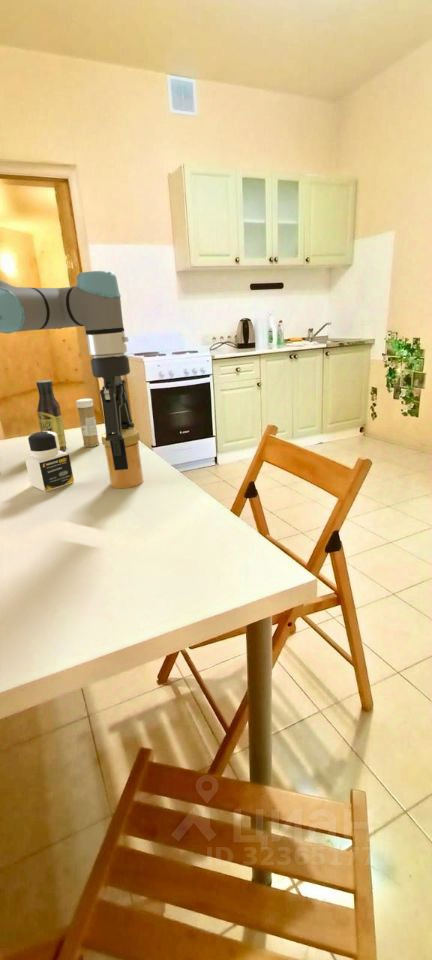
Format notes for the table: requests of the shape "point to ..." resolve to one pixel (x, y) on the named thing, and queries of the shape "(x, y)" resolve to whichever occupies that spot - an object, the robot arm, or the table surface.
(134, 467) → the jar
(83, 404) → the sprinkles bottle
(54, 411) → the sauce bottle
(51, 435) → the medicine bottle
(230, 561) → the table surface
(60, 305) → the robot arm
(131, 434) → the lid
